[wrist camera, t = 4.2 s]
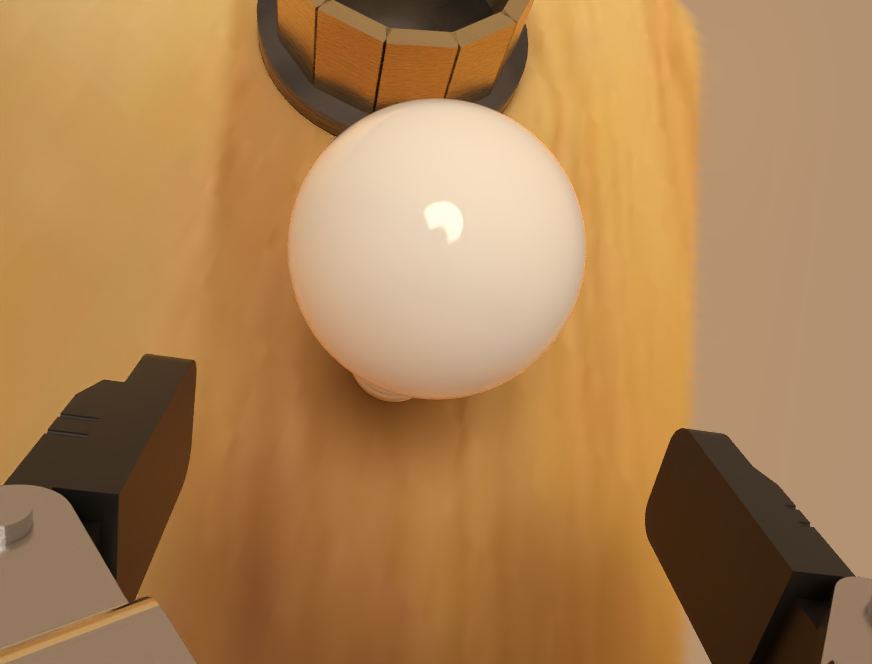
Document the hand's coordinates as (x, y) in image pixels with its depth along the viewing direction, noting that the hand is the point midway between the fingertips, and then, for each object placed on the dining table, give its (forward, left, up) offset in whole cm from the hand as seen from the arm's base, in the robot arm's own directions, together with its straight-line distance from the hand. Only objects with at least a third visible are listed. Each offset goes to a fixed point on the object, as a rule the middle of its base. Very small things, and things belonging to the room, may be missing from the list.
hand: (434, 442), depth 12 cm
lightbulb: (+1, +5, -10) cm, 11 cm away
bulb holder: (+2, +18, -10) cm, 20 cm away
